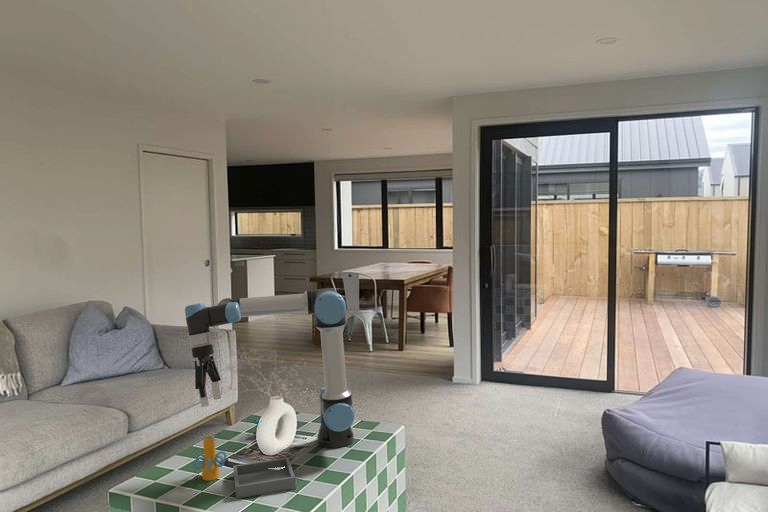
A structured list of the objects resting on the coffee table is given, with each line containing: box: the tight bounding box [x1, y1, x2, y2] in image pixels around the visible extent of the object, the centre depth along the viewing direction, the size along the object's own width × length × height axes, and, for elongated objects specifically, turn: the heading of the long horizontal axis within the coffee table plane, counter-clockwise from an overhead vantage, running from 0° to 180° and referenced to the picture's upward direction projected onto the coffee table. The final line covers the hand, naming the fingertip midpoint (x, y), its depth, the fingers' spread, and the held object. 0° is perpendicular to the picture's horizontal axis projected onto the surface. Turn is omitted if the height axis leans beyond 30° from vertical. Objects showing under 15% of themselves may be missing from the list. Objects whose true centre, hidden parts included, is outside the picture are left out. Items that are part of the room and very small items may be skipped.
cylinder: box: [192, 434, 227, 482], centre depth 213 cm, size 12×10×15 cm
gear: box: [253, 418, 260, 437], centre depth 252 cm, size 11×6×10 cm
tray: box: [232, 457, 297, 499], centre depth 208 cm, size 20×18×4 cm
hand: (212, 402), depth 215 cm, fingers open, 13 cm apart
